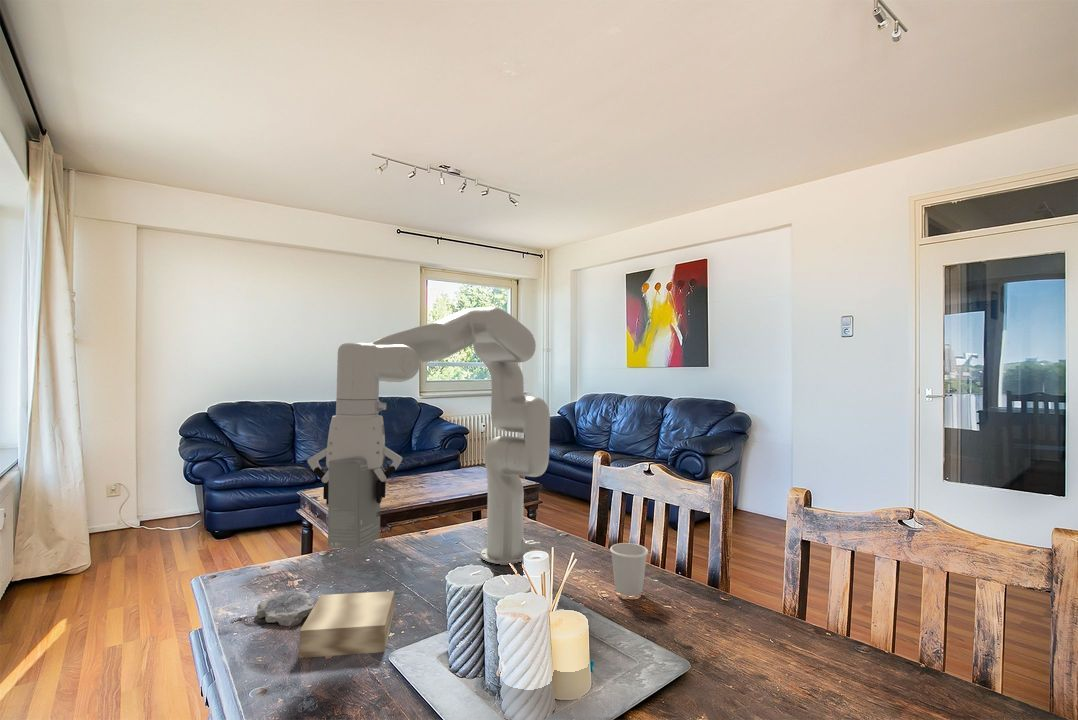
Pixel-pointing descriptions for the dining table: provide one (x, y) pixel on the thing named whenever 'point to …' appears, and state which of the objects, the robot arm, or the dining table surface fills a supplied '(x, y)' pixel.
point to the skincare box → (352, 505)
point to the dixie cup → (628, 567)
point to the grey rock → (286, 608)
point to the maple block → (347, 624)
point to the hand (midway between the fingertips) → (354, 501)
